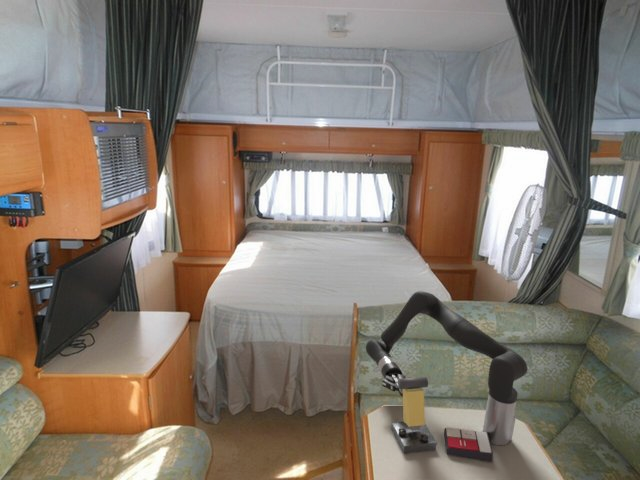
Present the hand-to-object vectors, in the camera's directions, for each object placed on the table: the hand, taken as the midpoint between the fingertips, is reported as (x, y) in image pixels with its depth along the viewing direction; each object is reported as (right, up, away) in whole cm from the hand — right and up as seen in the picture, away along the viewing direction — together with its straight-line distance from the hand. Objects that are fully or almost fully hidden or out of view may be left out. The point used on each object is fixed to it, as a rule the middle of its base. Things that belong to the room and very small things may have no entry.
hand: (405, 395), depth 160 cm
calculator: (+20, -16, -9) cm, 27 cm away
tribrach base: (+1, -13, -7) cm, 15 cm away
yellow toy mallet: (+2, -9, -8) cm, 12 cm away
